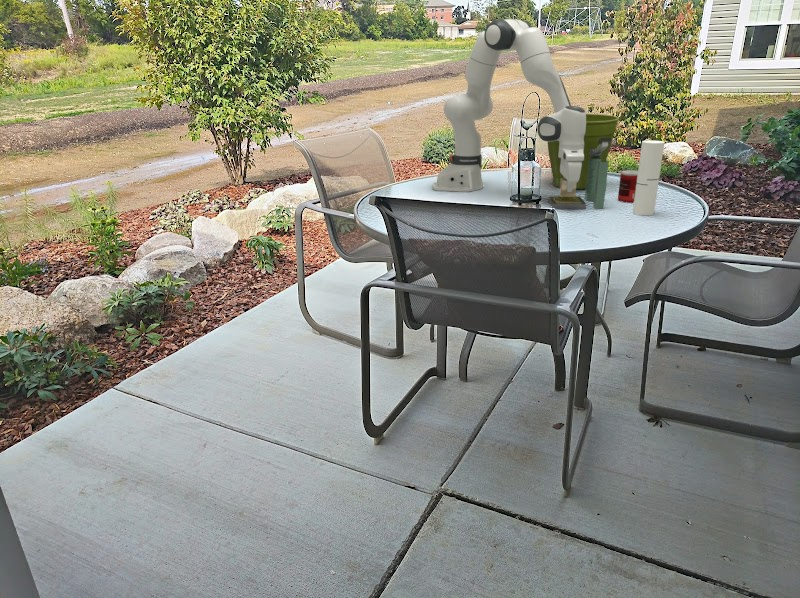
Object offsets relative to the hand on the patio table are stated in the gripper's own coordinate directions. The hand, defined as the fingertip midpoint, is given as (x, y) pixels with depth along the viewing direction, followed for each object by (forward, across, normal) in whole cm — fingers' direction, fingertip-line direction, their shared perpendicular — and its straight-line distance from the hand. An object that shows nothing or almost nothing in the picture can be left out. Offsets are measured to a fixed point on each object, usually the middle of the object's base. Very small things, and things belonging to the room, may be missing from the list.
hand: (567, 189), depth 222 cm
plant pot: (+6, -36, +10) cm, 38 cm away
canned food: (+6, -8, +25) cm, 27 cm away
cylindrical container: (+6, +12, +25) cm, 28 cm away
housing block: (+2, 0, 0) cm, 2 cm away
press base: (+6, -2, +4) cm, 7 cm away
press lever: (-13, -2, +11) cm, 17 cm away
